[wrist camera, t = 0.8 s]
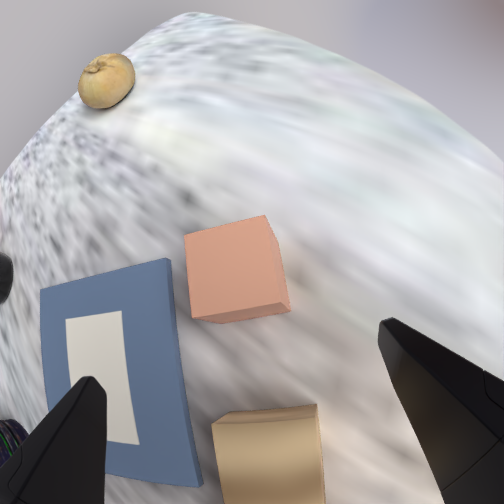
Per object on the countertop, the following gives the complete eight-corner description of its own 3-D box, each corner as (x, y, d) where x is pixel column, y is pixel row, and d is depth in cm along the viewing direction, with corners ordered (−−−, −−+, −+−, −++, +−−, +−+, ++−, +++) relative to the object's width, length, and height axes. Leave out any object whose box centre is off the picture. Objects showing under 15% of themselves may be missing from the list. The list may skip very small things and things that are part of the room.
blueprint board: (203, 483, 17) (198, 487, 17) (64, 458, 20) (58, 459, 19) (170, 260, 23) (165, 257, 22) (45, 291, 26) (39, 289, 25)
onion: (84, 118, 33) (54, 88, 27) (113, 77, 35) (88, 46, 28) (123, 115, 31) (90, 78, 24) (153, 70, 32) (128, 33, 26)
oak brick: (326, 517, 15) (324, 545, 11) (247, 520, 16) (233, 546, 12) (317, 403, 18) (315, 417, 14) (231, 410, 19) (211, 424, 15)
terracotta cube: (291, 311, 20) (280, 301, 15) (221, 324, 21) (192, 317, 16) (278, 242, 22) (264, 214, 17) (213, 257, 23) (184, 235, 18)
